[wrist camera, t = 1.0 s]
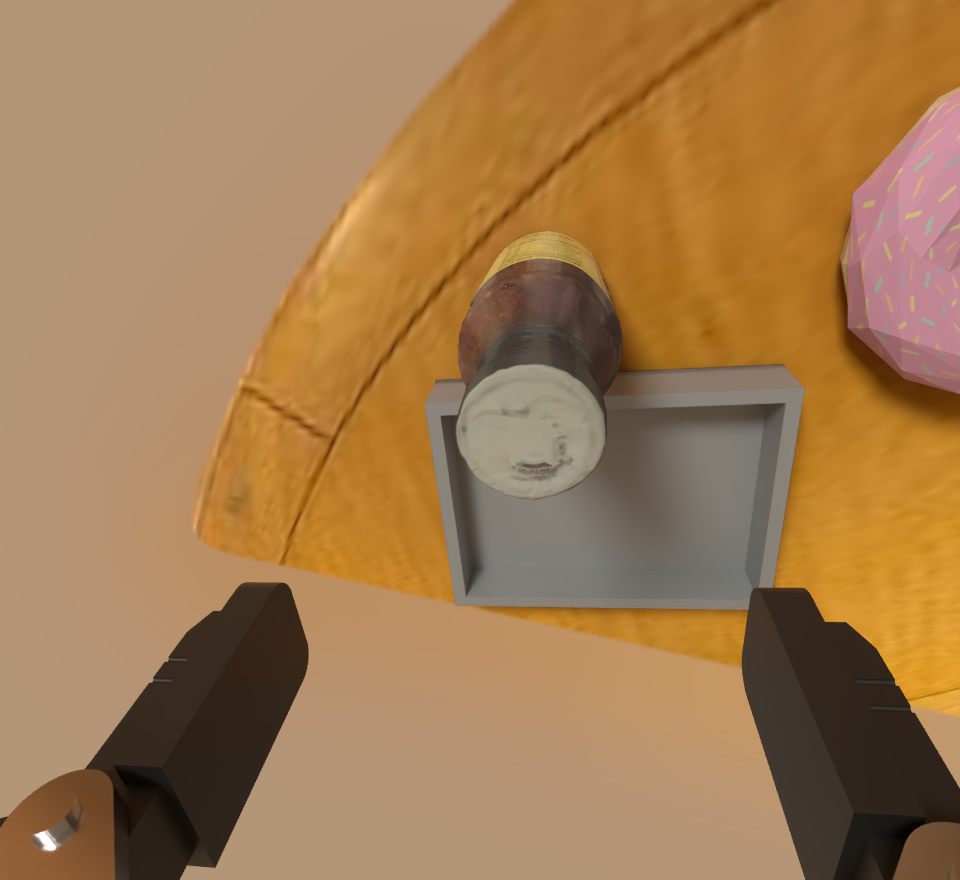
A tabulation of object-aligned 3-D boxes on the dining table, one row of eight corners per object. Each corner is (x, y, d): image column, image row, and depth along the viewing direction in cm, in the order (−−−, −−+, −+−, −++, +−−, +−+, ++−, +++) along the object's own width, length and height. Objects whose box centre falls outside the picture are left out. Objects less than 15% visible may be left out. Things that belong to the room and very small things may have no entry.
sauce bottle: (570, 355, 35) (575, 583, 18) (472, 312, 35) (378, 502, 17) (625, 249, 32) (697, 398, 14) (518, 200, 31) (460, 293, 14)
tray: (782, 364, 34) (804, 388, 31) (753, 573, 40) (769, 610, 37) (436, 380, 37) (424, 403, 34) (463, 571, 44) (455, 605, 41)
